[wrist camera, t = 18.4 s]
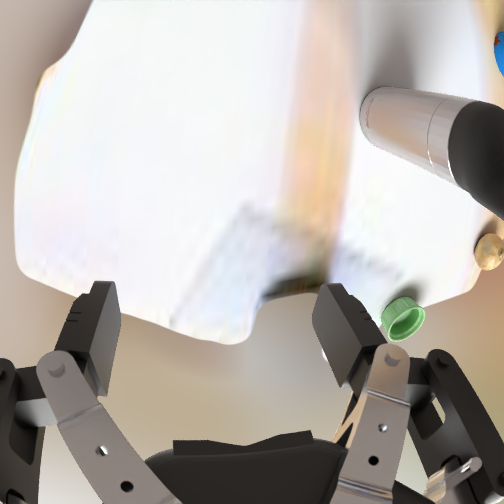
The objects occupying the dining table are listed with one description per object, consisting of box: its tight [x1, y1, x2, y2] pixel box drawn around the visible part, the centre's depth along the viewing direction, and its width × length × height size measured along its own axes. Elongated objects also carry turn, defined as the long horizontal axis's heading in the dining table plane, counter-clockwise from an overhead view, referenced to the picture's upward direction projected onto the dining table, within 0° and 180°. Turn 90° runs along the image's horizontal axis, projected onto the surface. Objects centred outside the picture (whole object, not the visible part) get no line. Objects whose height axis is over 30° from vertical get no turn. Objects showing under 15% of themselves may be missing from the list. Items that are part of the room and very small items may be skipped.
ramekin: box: [381, 297, 425, 341], centre depth 54 cm, size 9×9×4 cm
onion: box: [474, 233, 504, 270], centre depth 49 cm, size 8×8×7 cm
